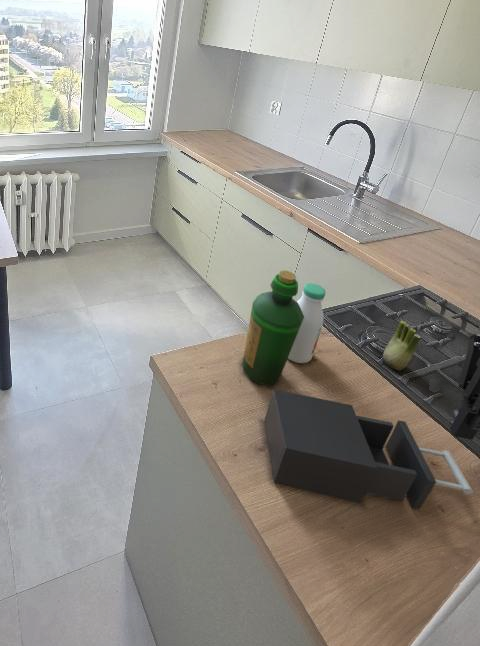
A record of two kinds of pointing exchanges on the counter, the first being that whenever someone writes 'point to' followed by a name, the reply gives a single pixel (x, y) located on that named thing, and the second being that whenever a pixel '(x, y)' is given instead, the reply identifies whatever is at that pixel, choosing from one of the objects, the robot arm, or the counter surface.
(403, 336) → the fennel bulb
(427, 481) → the drawer
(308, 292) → the milk bottle
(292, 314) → the bottle
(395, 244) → the counter surface
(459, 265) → the counter surface
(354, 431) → the cabinet
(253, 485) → the counter surface
